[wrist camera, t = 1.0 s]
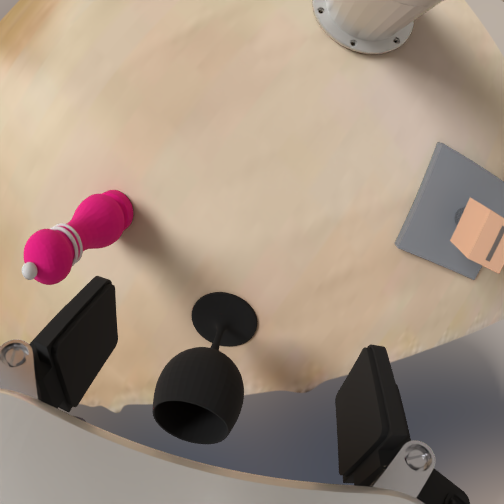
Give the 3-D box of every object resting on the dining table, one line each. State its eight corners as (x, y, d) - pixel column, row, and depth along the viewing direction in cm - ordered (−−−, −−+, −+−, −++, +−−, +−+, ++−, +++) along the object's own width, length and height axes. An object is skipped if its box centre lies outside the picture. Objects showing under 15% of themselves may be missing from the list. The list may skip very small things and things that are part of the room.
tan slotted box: (469, 197, 31) (491, 210, 26) (500, 215, 31) (521, 230, 26) (449, 240, 34) (467, 258, 29) (480, 255, 34) (499, 274, 29)
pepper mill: (118, 176, 41) (19, 227, 23) (146, 218, 43) (61, 291, 25) (88, 202, 43) (-6, 260, 25) (113, 241, 46) (31, 314, 27)
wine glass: (197, 343, 52) (158, 440, 34) (187, 290, 47) (133, 387, 29) (259, 346, 50) (240, 452, 32) (255, 292, 46) (231, 400, 28)
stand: (437, 142, 34) (442, 143, 32) (511, 188, 34) (516, 191, 33) (394, 243, 40) (397, 247, 39) (470, 275, 40) (474, 280, 39)
